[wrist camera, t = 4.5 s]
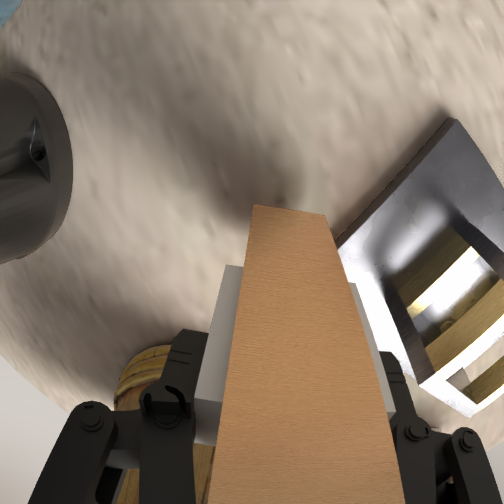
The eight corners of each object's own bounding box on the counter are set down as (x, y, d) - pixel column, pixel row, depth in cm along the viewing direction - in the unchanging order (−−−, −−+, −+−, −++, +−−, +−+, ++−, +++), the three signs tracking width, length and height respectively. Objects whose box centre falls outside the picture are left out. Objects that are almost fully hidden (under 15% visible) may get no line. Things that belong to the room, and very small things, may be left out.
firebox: (290, 285, 23) (295, 386, 15) (448, 117, 16) (542, 146, 8) (430, 383, 27) (454, 453, 19) (542, 280, 21) (591, 337, 13)
